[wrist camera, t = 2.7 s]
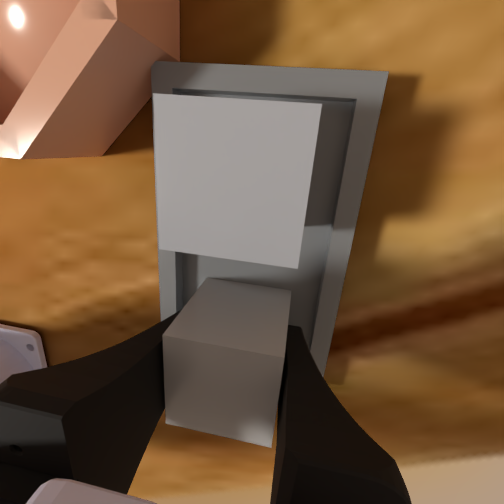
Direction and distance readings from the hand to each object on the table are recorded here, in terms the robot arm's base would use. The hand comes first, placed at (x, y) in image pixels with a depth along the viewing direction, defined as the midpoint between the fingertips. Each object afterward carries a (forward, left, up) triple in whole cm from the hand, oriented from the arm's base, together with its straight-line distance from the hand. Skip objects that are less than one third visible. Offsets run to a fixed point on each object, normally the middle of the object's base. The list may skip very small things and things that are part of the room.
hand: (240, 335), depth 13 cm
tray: (+3, 0, -2) cm, 4 cm away
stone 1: (0, 0, -1) cm, 1 cm away
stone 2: (+7, 0, -1) cm, 7 cm away
